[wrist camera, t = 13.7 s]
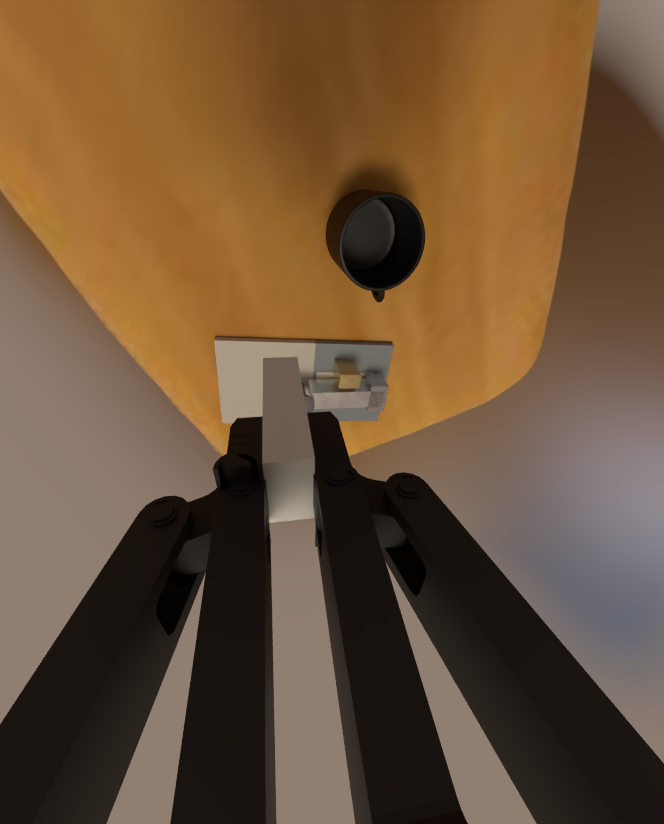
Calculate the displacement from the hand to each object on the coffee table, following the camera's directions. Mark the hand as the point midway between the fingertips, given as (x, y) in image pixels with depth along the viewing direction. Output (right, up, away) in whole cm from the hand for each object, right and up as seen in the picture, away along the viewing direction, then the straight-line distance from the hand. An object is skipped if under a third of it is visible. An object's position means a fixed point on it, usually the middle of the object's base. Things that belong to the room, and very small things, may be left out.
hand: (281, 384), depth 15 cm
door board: (-2, +4, +38) cm, 38 cm away
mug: (+6, +20, +28) cm, 35 cm away
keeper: (+4, +6, +36) cm, 37 cm away
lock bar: (+4, +3, +37) cm, 38 cm away
